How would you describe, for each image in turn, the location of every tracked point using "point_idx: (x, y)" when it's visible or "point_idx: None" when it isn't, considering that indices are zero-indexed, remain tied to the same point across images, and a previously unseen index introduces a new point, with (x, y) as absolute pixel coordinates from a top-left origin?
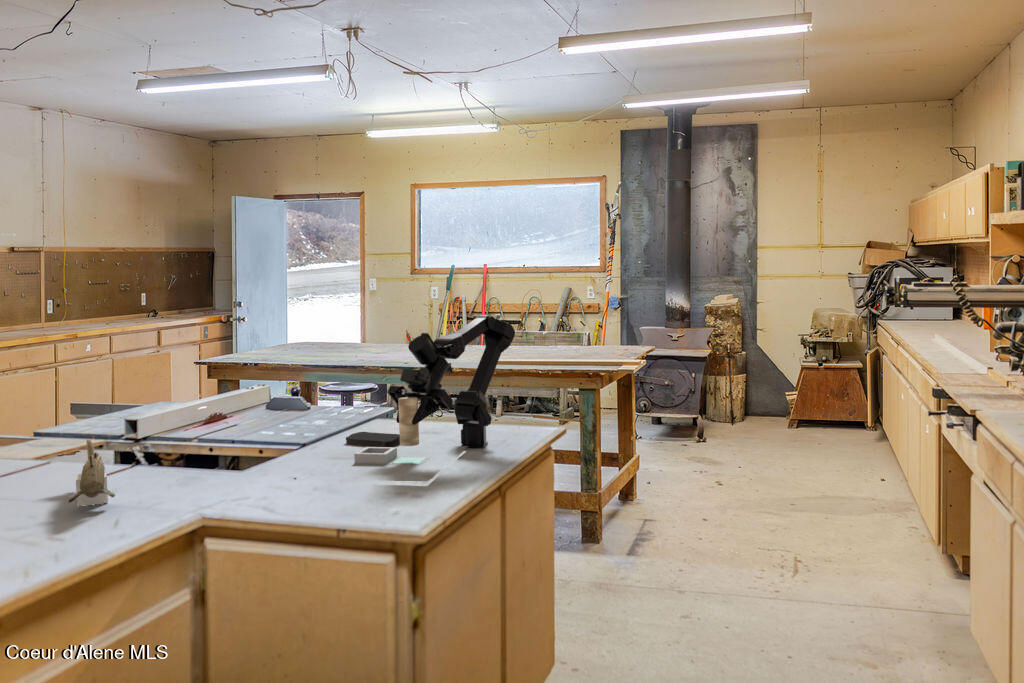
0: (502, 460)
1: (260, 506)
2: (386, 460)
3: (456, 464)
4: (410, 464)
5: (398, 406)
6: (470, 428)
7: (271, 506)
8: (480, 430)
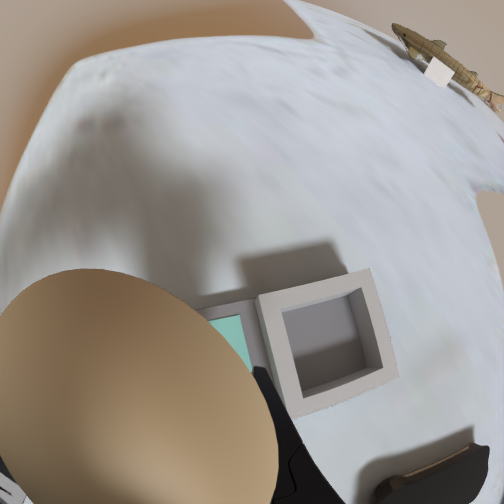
0: None
1: (289, 54)
2: (255, 301)
3: None
4: None
5: (315, 467)
6: None
7: (276, 54)
8: None
